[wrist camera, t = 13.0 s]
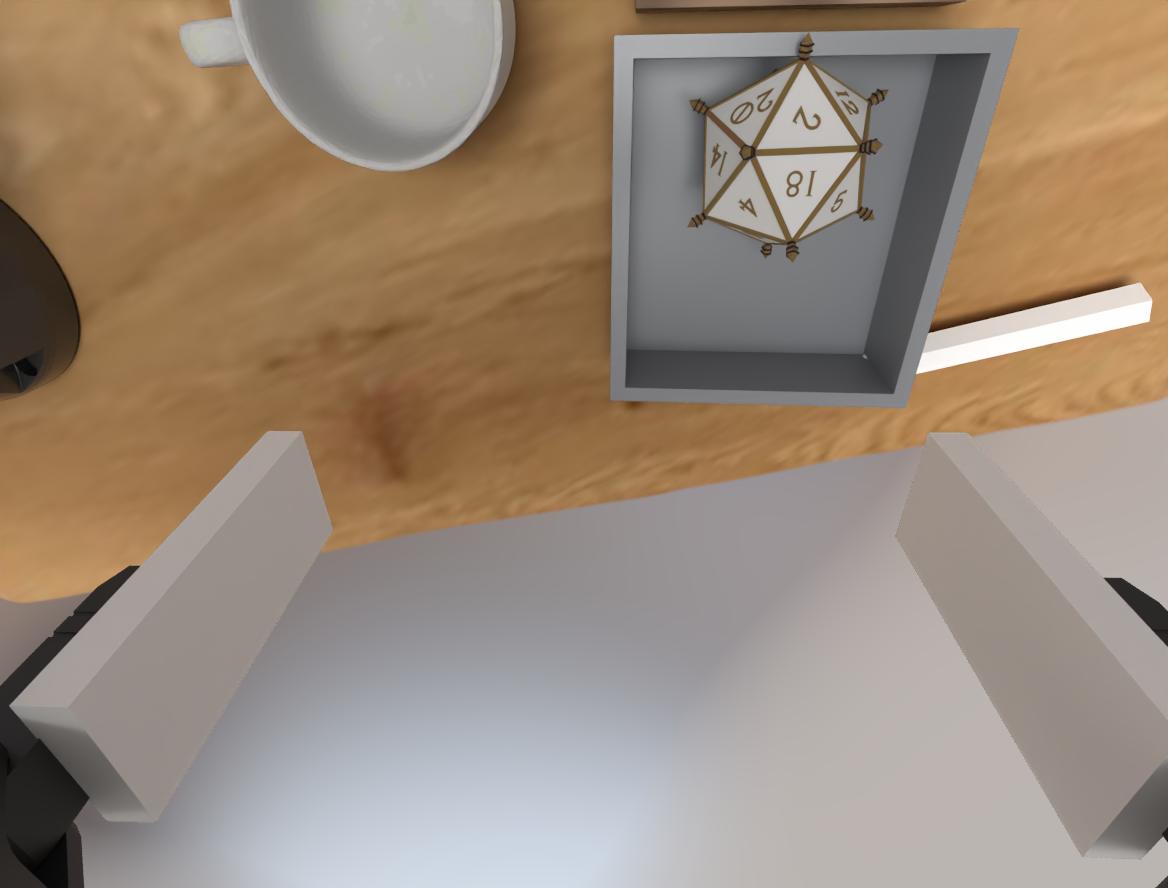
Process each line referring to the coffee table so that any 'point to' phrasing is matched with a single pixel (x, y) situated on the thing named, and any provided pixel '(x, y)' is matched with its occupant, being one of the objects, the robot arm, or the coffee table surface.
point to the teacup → (369, 70)
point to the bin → (827, 259)
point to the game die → (786, 155)
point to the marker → (1036, 327)
